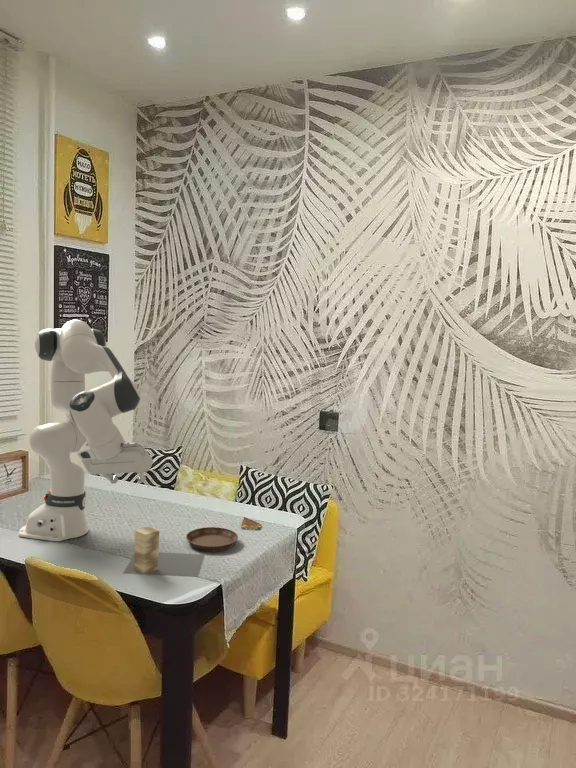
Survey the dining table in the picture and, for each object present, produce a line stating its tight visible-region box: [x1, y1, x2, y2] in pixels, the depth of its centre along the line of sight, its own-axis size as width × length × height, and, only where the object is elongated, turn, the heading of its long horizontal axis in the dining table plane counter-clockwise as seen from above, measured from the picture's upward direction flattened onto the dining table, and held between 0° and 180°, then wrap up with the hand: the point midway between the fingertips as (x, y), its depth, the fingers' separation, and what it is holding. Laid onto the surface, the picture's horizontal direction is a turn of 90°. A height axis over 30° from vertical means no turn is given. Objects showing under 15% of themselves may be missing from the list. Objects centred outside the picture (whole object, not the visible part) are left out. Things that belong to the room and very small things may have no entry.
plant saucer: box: [185, 526, 239, 552], centre depth 207 cm, size 18×18×3 cm
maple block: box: [133, 526, 160, 575], centre depth 180 cm, size 5×5×12 cm
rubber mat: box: [122, 552, 206, 578], centre depth 185 cm, size 22×17×1 cm
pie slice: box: [240, 516, 263, 530], centre depth 228 cm, size 11×8×2 cm
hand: (128, 481), depth 172 cm, fingers open, 8 cm apart
